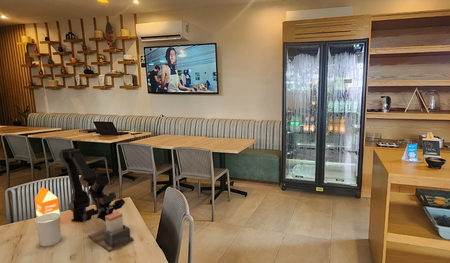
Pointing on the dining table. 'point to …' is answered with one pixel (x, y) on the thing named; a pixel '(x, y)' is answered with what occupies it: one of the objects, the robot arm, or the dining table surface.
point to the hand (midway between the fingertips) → (112, 225)
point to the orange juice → (46, 203)
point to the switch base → (112, 238)
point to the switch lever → (114, 222)
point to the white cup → (48, 229)
